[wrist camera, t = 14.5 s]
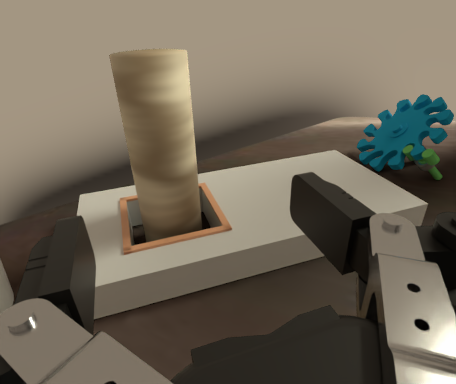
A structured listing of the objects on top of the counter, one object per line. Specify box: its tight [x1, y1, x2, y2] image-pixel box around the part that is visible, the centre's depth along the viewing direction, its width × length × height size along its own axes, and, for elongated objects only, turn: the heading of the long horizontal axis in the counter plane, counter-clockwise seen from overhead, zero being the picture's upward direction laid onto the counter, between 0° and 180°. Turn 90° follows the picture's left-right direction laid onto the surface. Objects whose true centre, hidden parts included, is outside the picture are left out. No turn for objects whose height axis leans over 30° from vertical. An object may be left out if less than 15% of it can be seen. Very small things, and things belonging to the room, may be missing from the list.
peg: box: [109, 49, 202, 243], centre depth 22 cm, size 4×4×14 cm
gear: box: [357, 95, 454, 180], centre depth 35 cm, size 11×6×10 cm
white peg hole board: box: [77, 150, 428, 319], centre depth 27 cm, size 26×12×3 cm, turn 109°
